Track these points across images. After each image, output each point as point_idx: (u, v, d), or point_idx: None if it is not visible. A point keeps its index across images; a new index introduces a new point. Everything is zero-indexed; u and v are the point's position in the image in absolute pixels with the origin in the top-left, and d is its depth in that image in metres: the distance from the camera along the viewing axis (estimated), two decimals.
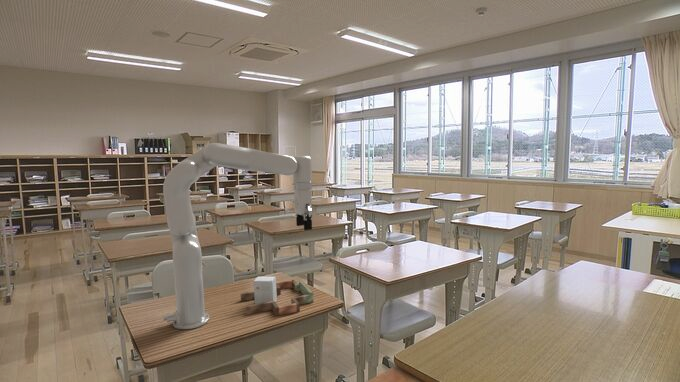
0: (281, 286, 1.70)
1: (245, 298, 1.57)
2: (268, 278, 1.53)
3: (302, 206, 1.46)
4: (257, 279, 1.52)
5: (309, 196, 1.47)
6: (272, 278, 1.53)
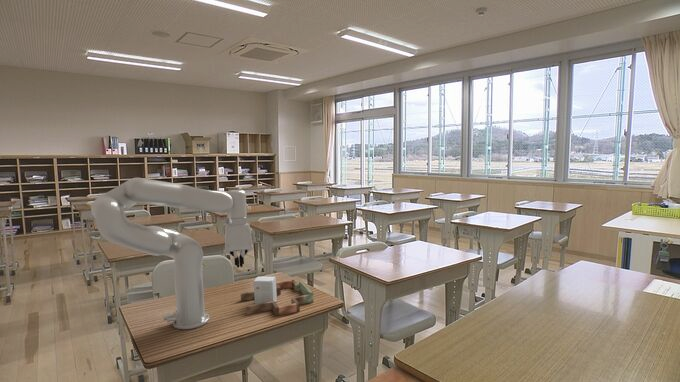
0: (281, 286, 1.70)
1: (245, 298, 1.57)
2: (268, 278, 1.53)
3: (251, 239, 1.47)
4: (257, 279, 1.52)
5: None
6: (272, 278, 1.53)
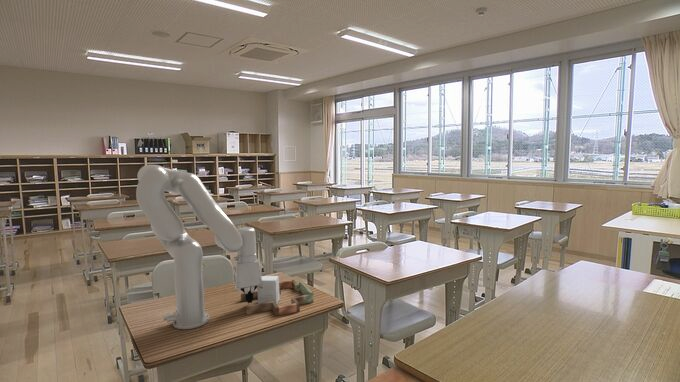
0: (281, 286, 1.70)
1: None
2: (271, 277, 1.54)
3: None
4: None
5: None
6: (275, 277, 1.54)
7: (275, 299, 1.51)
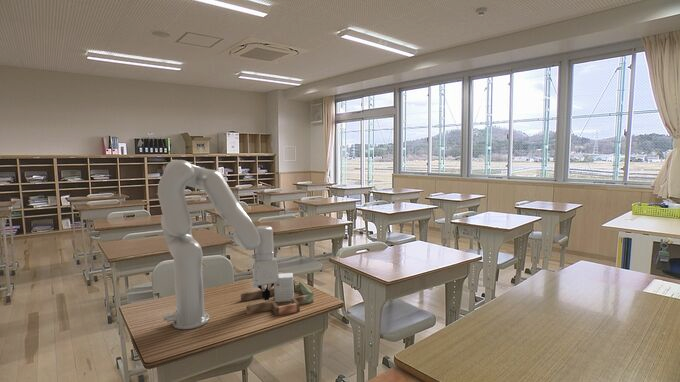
0: None
1: (245, 298, 1.57)
2: (287, 275, 1.57)
3: None
4: None
5: None
6: (290, 274, 1.57)
7: (292, 295, 1.55)
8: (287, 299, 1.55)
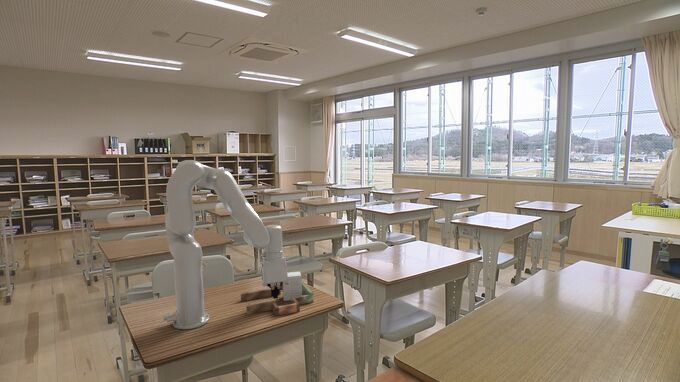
0: (281, 286, 1.70)
1: (245, 298, 1.57)
2: (295, 273, 1.58)
3: None
4: None
5: None
6: (298, 273, 1.59)
7: (301, 293, 1.57)
8: None
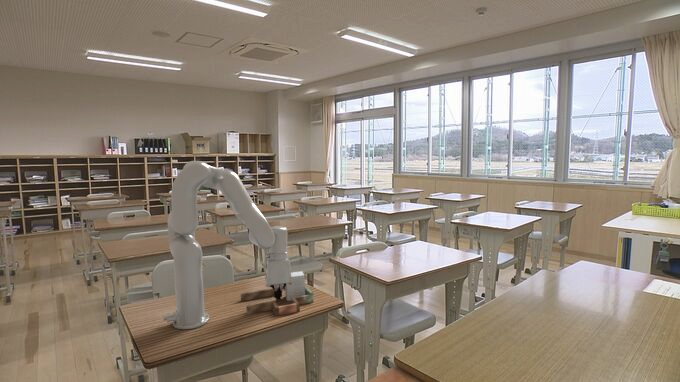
0: None
1: (245, 298, 1.57)
2: (297, 273, 1.59)
3: (290, 273, 1.55)
4: None
5: None
6: (301, 273, 1.59)
7: (304, 293, 1.57)
8: None
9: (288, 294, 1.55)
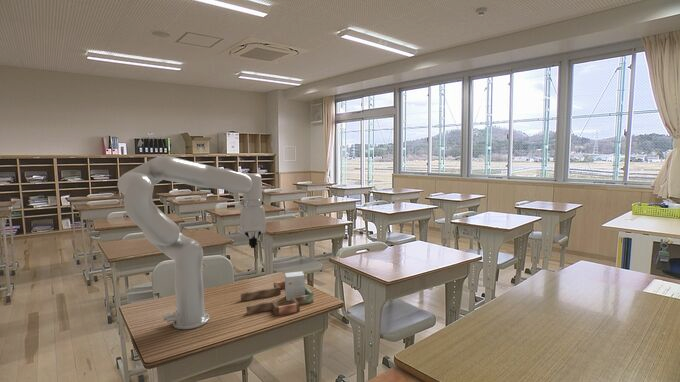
0: (281, 286, 1.70)
1: (245, 298, 1.57)
2: (297, 273, 1.59)
3: (265, 221, 1.53)
4: (288, 275, 1.56)
5: None
6: (301, 273, 1.59)
7: (304, 293, 1.57)
8: None
9: (288, 294, 1.55)
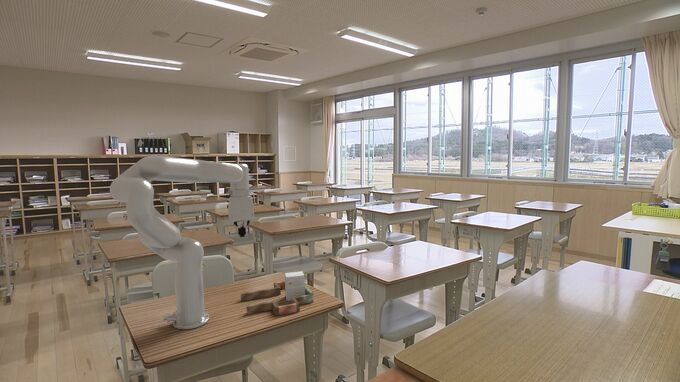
0: (281, 286, 1.70)
1: (245, 298, 1.57)
2: (297, 273, 1.59)
3: (253, 210, 1.56)
4: (288, 275, 1.56)
5: None
6: (301, 273, 1.59)
7: (304, 293, 1.57)
8: None
9: (288, 294, 1.55)
